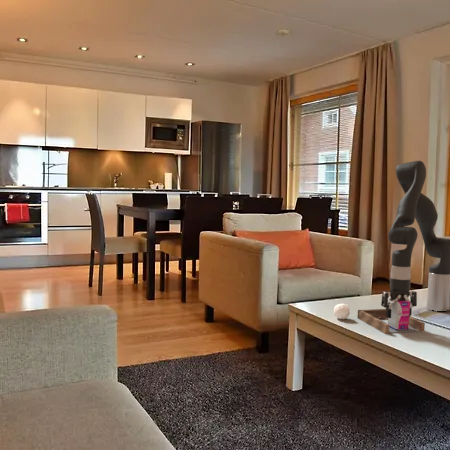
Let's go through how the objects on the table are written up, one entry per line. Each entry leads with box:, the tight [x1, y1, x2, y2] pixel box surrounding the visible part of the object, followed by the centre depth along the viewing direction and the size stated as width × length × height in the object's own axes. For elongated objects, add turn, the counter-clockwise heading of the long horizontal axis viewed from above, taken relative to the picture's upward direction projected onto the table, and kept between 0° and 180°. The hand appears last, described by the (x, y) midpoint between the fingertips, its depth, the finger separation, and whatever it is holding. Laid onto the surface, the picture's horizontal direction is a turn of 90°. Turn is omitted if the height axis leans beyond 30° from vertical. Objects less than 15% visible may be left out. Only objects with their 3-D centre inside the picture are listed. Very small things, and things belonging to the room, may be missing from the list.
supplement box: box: [387, 300, 410, 330], centre depth 187 cm, size 6×6×12 cm
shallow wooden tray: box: [357, 308, 426, 335], centre depth 193 cm, size 22×17×4 cm
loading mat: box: [389, 326, 419, 334], centre depth 187 cm, size 9×12×1 cm
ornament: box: [333, 303, 351, 320], centre depth 199 cm, size 6×7×7 cm
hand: (398, 317), depth 187 cm, fingers open, 8 cm apart
